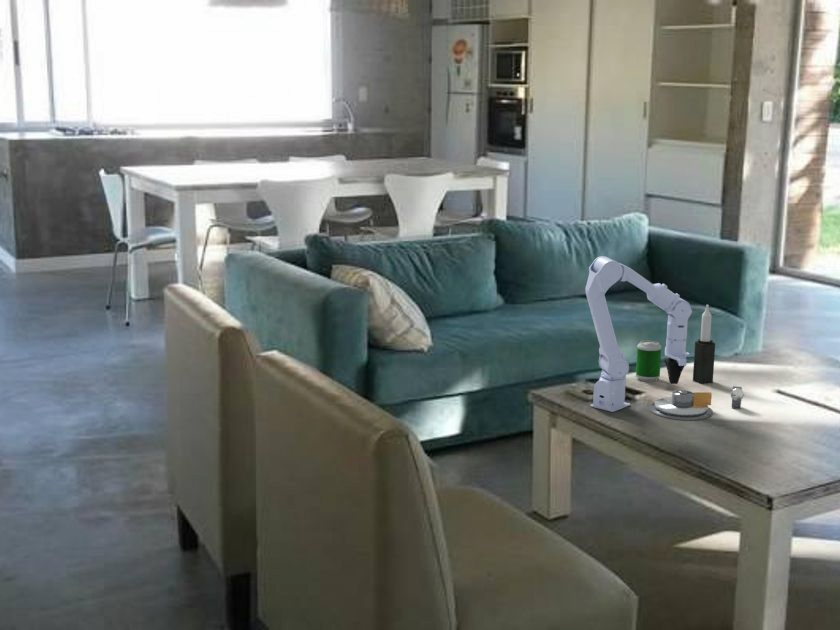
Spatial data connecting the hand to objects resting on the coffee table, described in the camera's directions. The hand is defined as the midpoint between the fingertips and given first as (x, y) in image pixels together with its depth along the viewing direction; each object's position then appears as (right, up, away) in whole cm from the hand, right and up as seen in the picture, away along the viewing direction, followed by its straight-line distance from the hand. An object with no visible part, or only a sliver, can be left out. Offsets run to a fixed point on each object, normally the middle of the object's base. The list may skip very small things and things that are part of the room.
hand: (673, 383), depth 312 cm
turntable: (+1, -8, -6) cm, 10 cm away
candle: (+15, -1, +24) cm, 28 cm away
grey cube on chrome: (+18, -7, -3) cm, 19 cm away
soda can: (-2, -1, +26) cm, 27 cm away
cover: (+1, -6, -7) cm, 9 cm away
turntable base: (+1, -8, -6) cm, 10 cm away
